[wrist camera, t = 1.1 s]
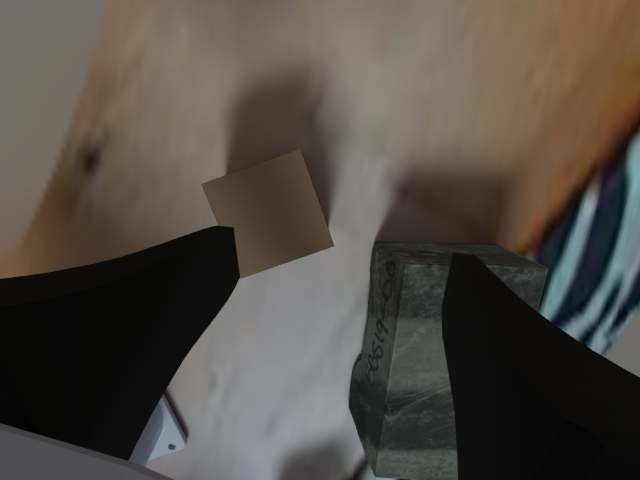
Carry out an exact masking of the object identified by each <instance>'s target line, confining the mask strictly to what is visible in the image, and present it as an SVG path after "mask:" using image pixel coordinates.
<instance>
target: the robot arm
mask: <svg viewBox="0 0 640 480" xmlns="http://www.w3.org/2000/svg"><path fill="white" fill-rule="evenodd" d="M239 278H240V272H239V264H238V256H237V249H236V241H235V233H234V227H226V226H213V227H209V228H206V229H202V230H199V231H196V232H193V233H191V234H188V235H185V236H182V237H179V238H177V239H174V240H171V241H168V242H165V243H163V244H160V245H157V246H154V247H151V248H147V249H144V250H141V251H138V252H135V253H132V254H129V255H126V256H122V257H118V258H115V259H111V260H107V261H103V262H99V263H95V264H90V265H86V266H81V267H75V268H70V269H65V270H60V271H54V272H49V273H42V274H35V275H28V276H20V277H12V278H3V279H0V480H173V479H171V478H169V477H166V476H164V475H162V474H160V473H157V472H155V471H153V470H151V469H148V468H146V467H145V465H146V463H147V461H149V460H152V459H155V458H158V457H161V456H164V455H167V454H170V453H173V452H176V451H180V450H182V449H184V448H185V446H186V444H187V438H186V436H185V435H184V433H183V431H182V429H181V427H180V425H179V423H178V421H177V419H176V417H175V415H174V413H173V411H172V409H171V407H170V405H169V403H168V401H167V399H166V397H165V395H164V392H165V390H166V388H167V386H168V385H169V383H170V381H171V380H172V378H173V376H174V375H175V373H176V371H177V370H178V368H179V366H180V365H181V363H182V361H183V360H184V358H185V357H186V355H187V354H188V353H189V351H190V350H191V348H192V347H193V346H194V344H195V343H196V342H197V340H198V339H199V338H200V336H201V335H202V334H203V332H204V331H205V330H206V329H207V327H208V326H209V325H210V323H211V322H212V321H213V319H214V318H215V317H216V315H217V314H218V313H219V311H220V310H221V309H222V307H223V306H224V305H225V303H226V302H227V300H228V299H229V297H230V295H231V294H232V292H233V290H234V288H235V286H236V284H237V282H238V280H239ZM441 309H442V337H443V343H444V350H445V356H446V362H447V368H448V374H449V380H450V386H451V392H452V398H453V405H454V414H455V428H456V445H457V466H458V480H640V377H638V376H636V375H634V374H632V373H631V372H629V371H627V370H625V369H623V368H622V367H620V366H618V365H616V364H615V363H613V362H611V361H610V360H608V359H606V358H605V357H603V356H601V355H600V354H598V353H596V352H595V351H593V350H591V349H590V348H588V347H586V346H585V345H583V344H582V343H580V342H579V341H577V340H576V339H574V338H573V337H571V336H570V335H568V334H567V333H565V332H564V331H563V330H561V329H560V328H558V327H557V326H555V325H554V324H553V323H551V322H550V321H549V320H547V319H546V318H545V317H543V316H542V315H541V314H539V313H538V312H537V311H536V310H535V309H533V308H532V307H531V306H530V305H528V304H527V303H526V302H525V301H524V300H522V299H521V298H520V297H519V296H518V295H517V294H515V293H514V292H513V291H512V290H511V289H510V288H509V287H508V286H507V285H506V284H505V283H504V282H502V281H501V280H500V279H499V278H498V277H497V276H496V275H495V274H494V273H493V272H492V271H491V270H490V269H489V268H488V267H487V266H486V265H485V264H484V263H483V262H482V261H481V260H480V259H479V258H478V257H477V256H475V255H472V254H464V253H455V252H453V254H452V258H451V263H450V268H449V273H448V278H447V282H446V287H445V292H444V297H443V302H442V306H441ZM171 444H174V445H175V446H173V445H171Z"/></svg>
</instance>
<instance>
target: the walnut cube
mask: <svg viewBox="0 0 640 480" xmlns="http://www.w3.org/2000/svg"><path fill="white" fill-rule="evenodd" d="M202 187H203V189H204V192H205V194H206V196H207V199H208V201H209V204H210V206H211V208H212V211H213V213H214V216H215V218H216V220H217V223H218V225H219V226H226V227H234V233H235V241H236V249H237V256H238V264H239V272H240V278H244V277H246V276H249V275H252V274H255V273H258V272H261V271H264V270H267V269H270V268H273V267H275V266H278V265H281V264H284V263H287V262H290V261H293V260H296V259H299V258H301V257H304V256H307V255H310V254H313V253H316V252H319V251H322V250H325V249H327V248H330V247H333V246H334V244H333V241H332V238H331V235H330V232H329V229H328V226H327V224H326V221H325V218H324V215H323V212H322V209H321V206H320V203H319V200H318V198H317V195H316V192H315V189H314V186H313V183H312V180H311V177H310V175H309V172H308V169H307V166H306V163H305V160H304V157H303V154H302V152H301V149H298V150H295V151H292V152H290V153H287V154H284V155H281V156H279V157H276V158H273V159H270V160H267V161H265V162H262V163H259V164H256V165H253V166H251V167H248V168H245V169H242V170H239V171H237V172H234V173H231V174H228V175H225V176H223V177H220V178H217V179H214V180H211V181H209V182H206V183H203V184H202Z"/></svg>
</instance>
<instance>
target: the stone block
mask: <svg viewBox="0 0 640 480" xmlns="http://www.w3.org/2000/svg"><path fill="white" fill-rule="evenodd" d="M453 252H455V253H464V254H472V255H475V256H477V257H478V258H479V259H480V260H481V261H482V262H483V263H484V264H485V265H486V266H487V267H488V268H489V269H490V270H491V271H492V272H493V273H494V274H495V275H496V276H497V277H498V278H499V279H500V280H501V281H502V282H504V283H505V284H506V285H507V286H508V287H509V288H510V289H511V290H512V291H513V292H514V293H515V294H517V295H518V296H519V297H520V298H521V299H522V300H524V301H525V302H526V303H527V304H528V305H530V306H531V307H532V308H533V309H535V310H536V311H537V312H538V308H539V304H540V300H541V296H542V292H543V288H544V284H545V280H546V275H547V271H548V268H546V267H544V266H542V265H540V264H538V263H536V262H534V261H532V260H530V259H528V258H526V257H524V256H521V255H519V254H517V253H515V252H513V251H511V250H509V249H507V248H504V247H502V246H499V245H481V244H437V243H394V242H389V241H379V242H376V244H375V246H374V248H373V253H372V260H371V266H370V293H369V302H368V323H367V332H366V336H365V338H364V345H363V351H362V358H361V359H360V360H359V361H358V362H357V363H356V366H355V368H354V370H353V371H352V380H351V384H350V398H349V409H350V412H351V414H352V417H353V420H354V422H355V425H356V429H357V432H358V435H359V438H360V441H361V443H362V446H363V449H364V453H365V457H366V459H367V460H368V462H369V464H370V466H371V469H372V470H373V473H374V475H375V477H381V478H403V479H411V480H458V466H457V445H456V428H455V414H454V405H453V398H452V392H451V386H450V380H449V374H448V368H447V362H446V356H445V350H444V343H443V337H442V309H441V306H442V302H443V297H444V292H445V287H446V282H447V278H448V273H449V268H450V263H451V258H452V254H453Z"/></svg>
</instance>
